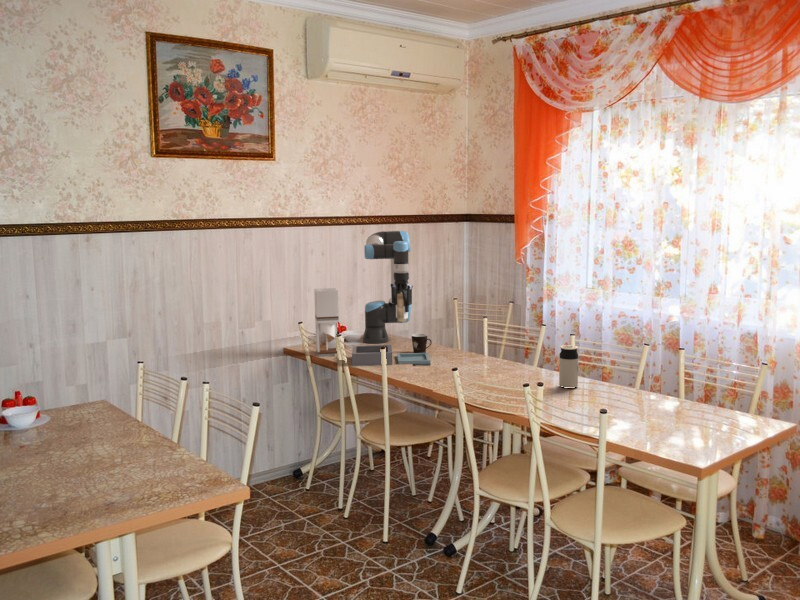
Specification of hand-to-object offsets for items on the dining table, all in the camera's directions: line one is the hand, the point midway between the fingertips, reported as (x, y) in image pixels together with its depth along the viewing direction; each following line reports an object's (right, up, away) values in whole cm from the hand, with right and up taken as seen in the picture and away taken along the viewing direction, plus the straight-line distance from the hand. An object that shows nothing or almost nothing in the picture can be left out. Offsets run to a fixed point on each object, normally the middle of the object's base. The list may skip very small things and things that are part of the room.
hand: (402, 317), depth 381 cm
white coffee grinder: (-40, -20, +26) cm, 52 cm away
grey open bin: (-15, -23, +3) cm, 28 cm away
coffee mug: (+10, -20, +22) cm, 31 cm away
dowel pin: (0, -2, 0) cm, 2 cm away
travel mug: (+73, -29, -50) cm, 93 cm away
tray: (+6, -23, +4) cm, 24 cm away
